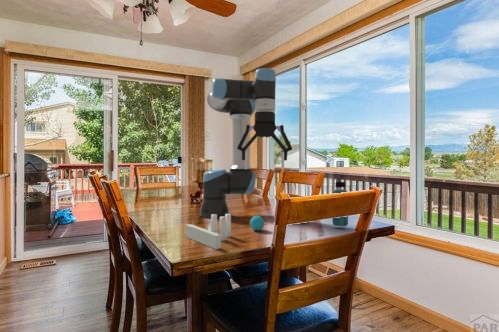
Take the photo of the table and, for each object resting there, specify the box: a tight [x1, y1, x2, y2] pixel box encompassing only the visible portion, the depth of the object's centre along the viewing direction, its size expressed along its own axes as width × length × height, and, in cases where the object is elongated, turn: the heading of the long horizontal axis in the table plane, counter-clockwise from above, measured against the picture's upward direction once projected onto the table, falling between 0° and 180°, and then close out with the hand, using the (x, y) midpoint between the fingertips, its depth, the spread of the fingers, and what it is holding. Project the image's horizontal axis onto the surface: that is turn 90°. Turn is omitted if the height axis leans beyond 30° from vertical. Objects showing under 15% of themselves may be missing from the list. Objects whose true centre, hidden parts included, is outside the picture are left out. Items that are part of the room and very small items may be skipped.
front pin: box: [225, 213, 232, 238], centre depth 115 cm, size 2×2×8 cm
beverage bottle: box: [332, 181, 349, 227], centre depth 130 cm, size 6×7×20 cm
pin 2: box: [219, 216, 227, 242], centre depth 110 cm, size 2×2×8 cm
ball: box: [249, 215, 265, 232], centre depth 125 cm, size 6×6×6 cm
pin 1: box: [210, 214, 218, 234], centre depth 115 cm, size 2×2×8 cm
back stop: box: [185, 223, 222, 250], centre depth 108 cm, size 20×2×4 cm, turn 41°
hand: (264, 169), depth 113 cm, fingers open, 13 cm apart
